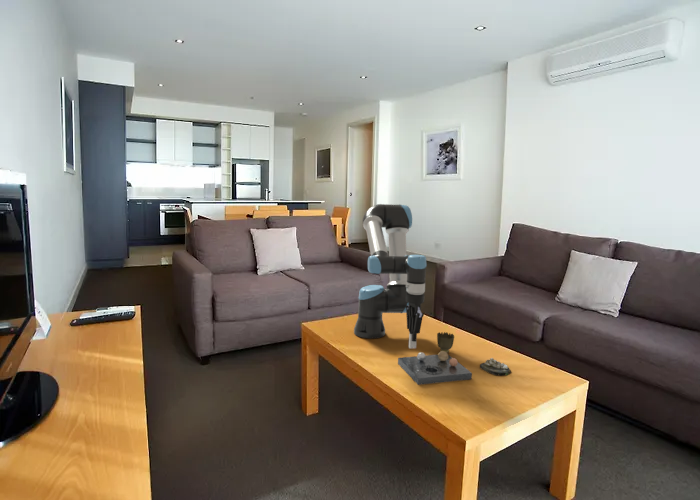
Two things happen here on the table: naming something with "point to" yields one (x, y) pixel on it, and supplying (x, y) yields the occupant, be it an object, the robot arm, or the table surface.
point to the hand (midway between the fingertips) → (412, 347)
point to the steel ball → (421, 356)
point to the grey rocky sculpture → (495, 367)
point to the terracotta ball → (453, 362)
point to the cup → (445, 341)
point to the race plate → (433, 370)
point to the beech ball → (443, 356)
